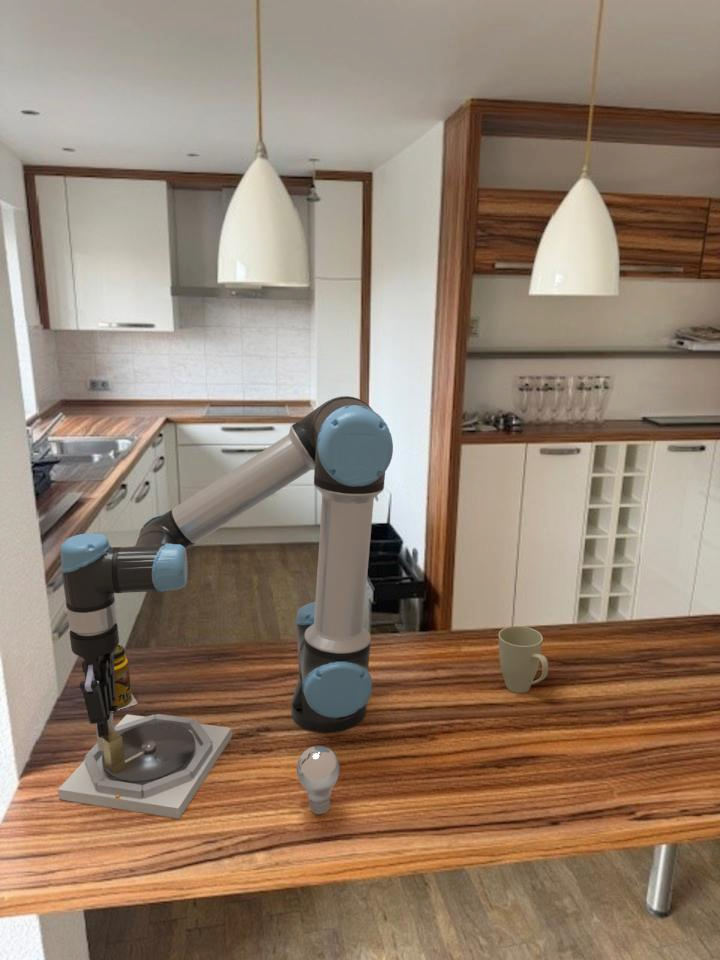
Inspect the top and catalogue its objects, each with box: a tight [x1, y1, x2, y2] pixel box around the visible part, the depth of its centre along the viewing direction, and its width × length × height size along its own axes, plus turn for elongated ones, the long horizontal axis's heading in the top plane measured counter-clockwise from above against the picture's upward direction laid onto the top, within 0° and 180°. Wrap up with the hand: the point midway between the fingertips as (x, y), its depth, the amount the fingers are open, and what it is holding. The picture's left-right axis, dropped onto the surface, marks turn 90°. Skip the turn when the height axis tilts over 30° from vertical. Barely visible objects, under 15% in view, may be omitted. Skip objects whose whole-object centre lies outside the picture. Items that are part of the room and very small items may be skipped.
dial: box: [102, 723, 195, 785], centre depth 127 cm, size 16×16×7 cm
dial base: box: [57, 713, 233, 819], centre depth 128 cm, size 22×22×4 cm
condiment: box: [111, 644, 139, 713], centre depth 147 cm, size 7×8×12 cm
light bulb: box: [296, 744, 341, 816], centre depth 115 cm, size 7×7×12 cm
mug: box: [498, 625, 549, 694], centre depth 150 cm, size 11×10×12 cm
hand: (107, 747), depth 125 cm, fingers closed
